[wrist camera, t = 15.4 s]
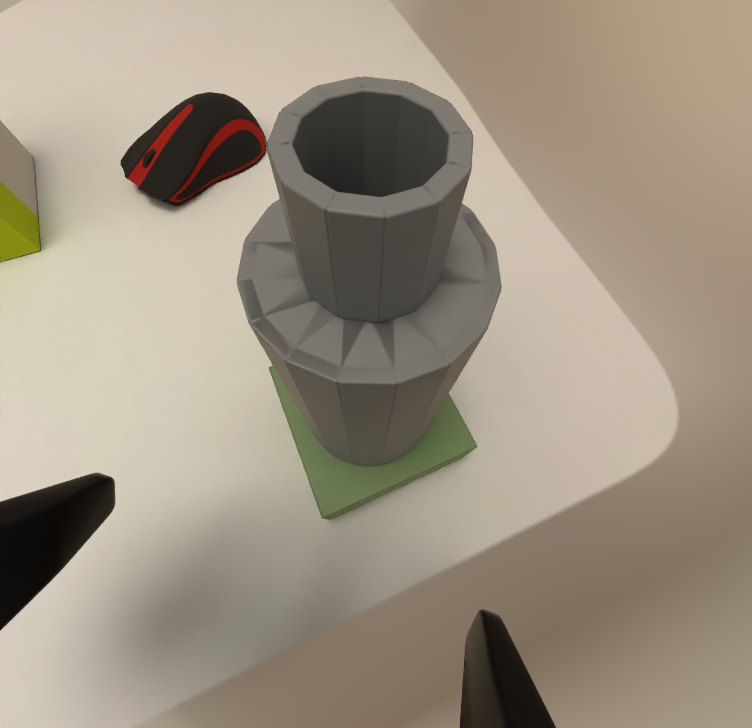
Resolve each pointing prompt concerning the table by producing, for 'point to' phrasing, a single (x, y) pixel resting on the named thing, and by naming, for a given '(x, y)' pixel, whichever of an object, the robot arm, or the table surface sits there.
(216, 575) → the table surface
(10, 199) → the puzzle toy
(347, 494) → the green block
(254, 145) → the computer mouse
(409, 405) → the flask
